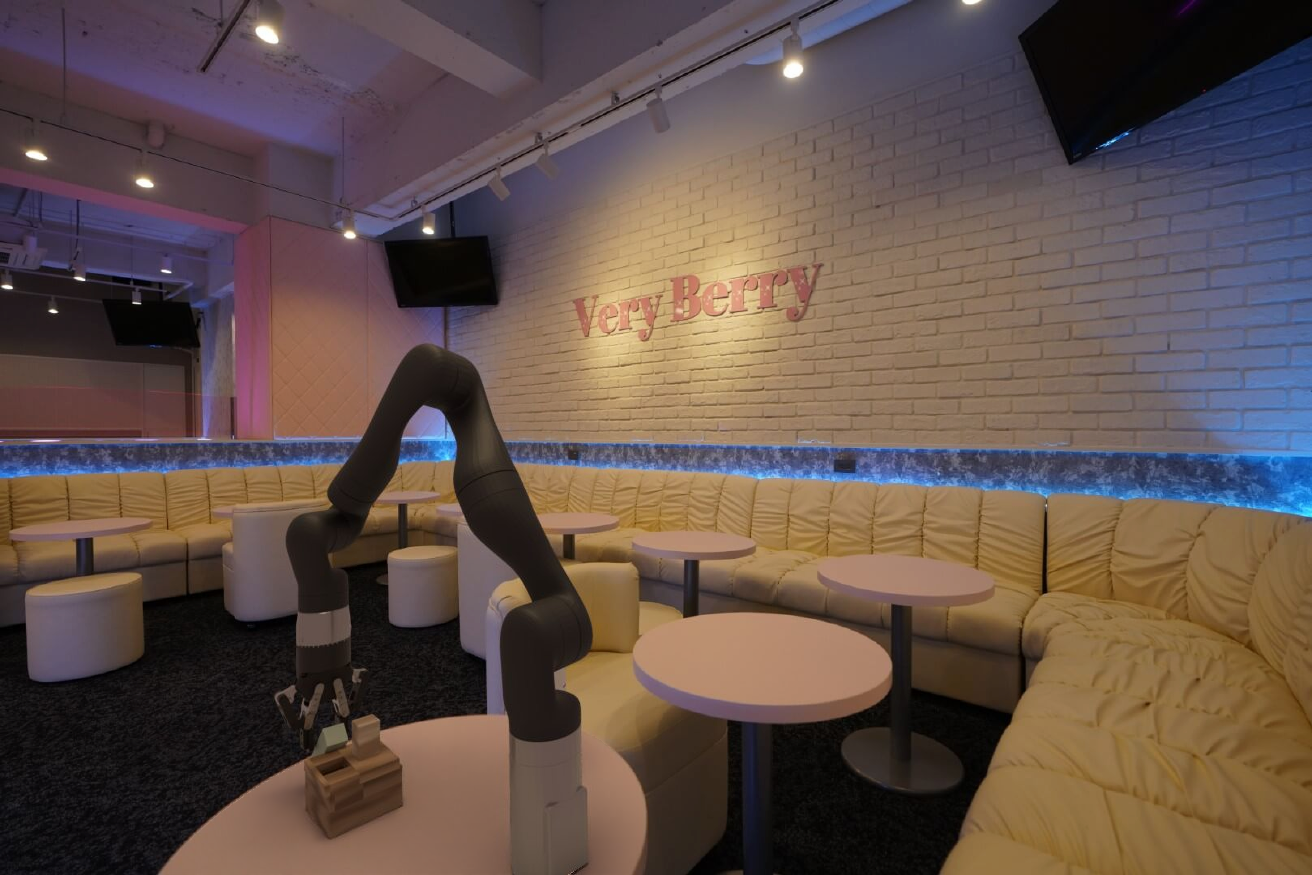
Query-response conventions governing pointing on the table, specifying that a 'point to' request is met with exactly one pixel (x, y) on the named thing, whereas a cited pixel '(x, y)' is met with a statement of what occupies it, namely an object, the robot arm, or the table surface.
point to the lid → (353, 759)
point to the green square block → (331, 739)
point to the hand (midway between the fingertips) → (324, 744)
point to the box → (353, 802)
